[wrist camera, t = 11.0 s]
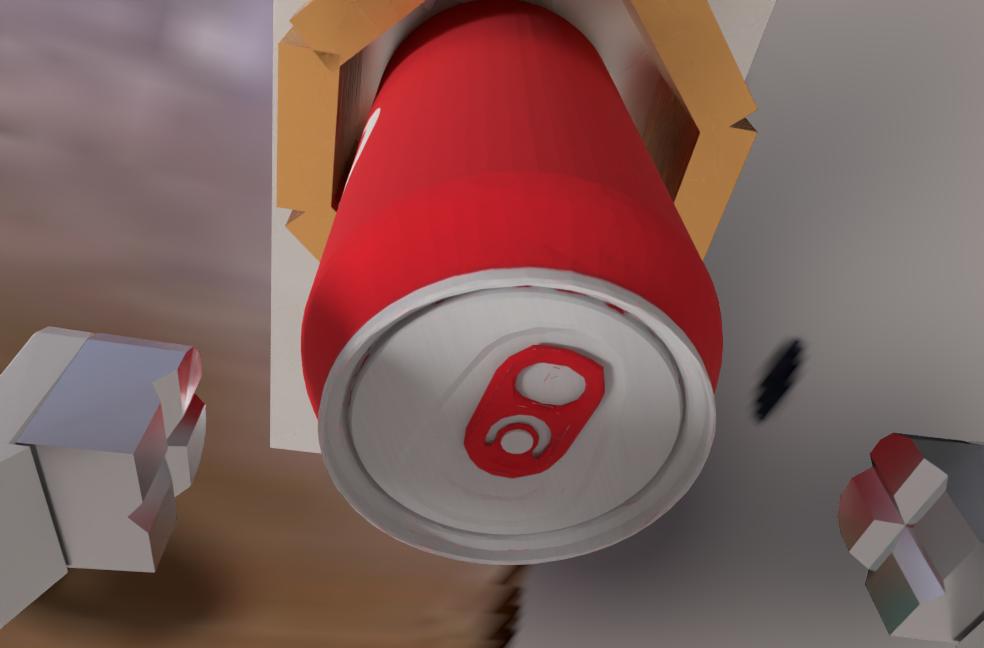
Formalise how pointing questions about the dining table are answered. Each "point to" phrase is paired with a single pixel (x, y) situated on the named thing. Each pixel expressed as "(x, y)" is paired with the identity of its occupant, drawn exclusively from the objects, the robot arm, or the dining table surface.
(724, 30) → the coupling base
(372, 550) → the dining table surface
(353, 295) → the beverage can
